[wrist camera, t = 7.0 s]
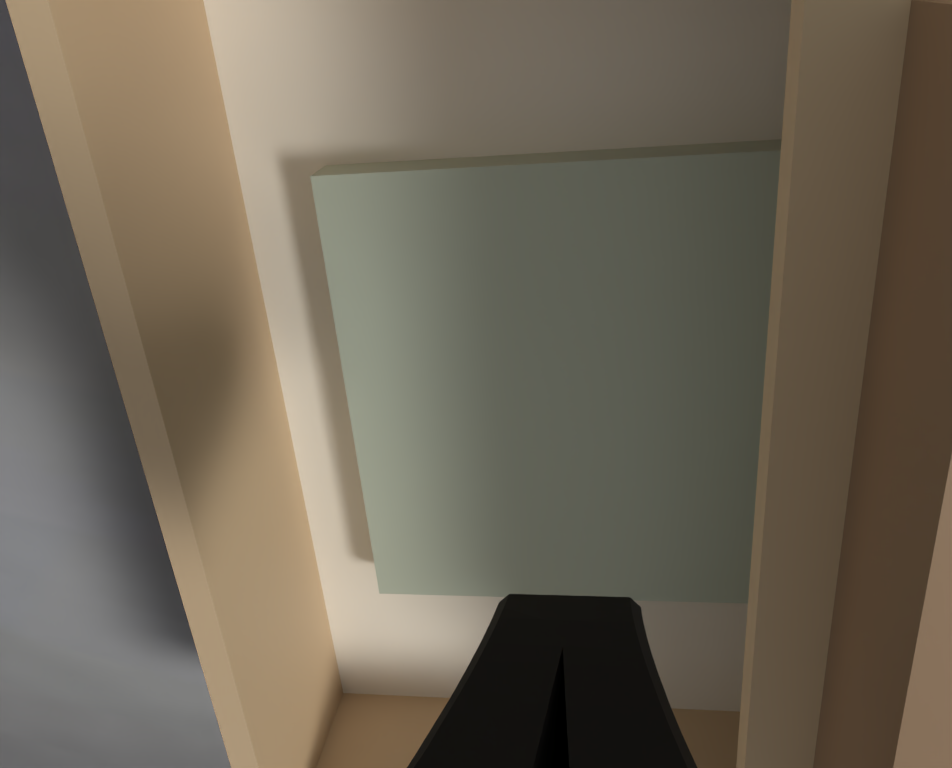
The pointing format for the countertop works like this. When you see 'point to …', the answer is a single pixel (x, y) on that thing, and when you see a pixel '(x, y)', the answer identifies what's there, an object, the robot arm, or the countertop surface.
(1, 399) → the countertop surface
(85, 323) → the countertop surface
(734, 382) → the mailer base
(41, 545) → the countertop surface
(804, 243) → the mailer lid
